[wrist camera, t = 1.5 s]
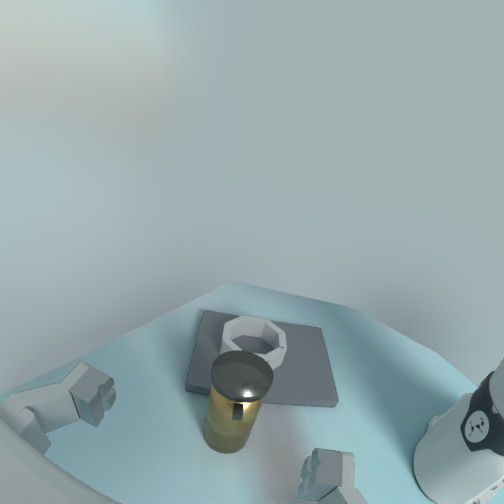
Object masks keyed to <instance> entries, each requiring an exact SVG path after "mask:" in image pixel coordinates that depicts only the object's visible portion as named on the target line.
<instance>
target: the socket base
mask: <svg viewBox="0 0 504 504" xmlns="http://www.w3.org/2000/svg"><path fill="white" fill-rule="evenodd" d="M233 350H242V351H248V352H251V353H254V354H256V355H258V356H260V357H262V358H263V359H264V360H265V361H267V362H268V364H269V365H270V366H271V368H272V370H273V375H274V378H273V382H272V385H271V388H270V390H269V392H268V393H267V395H266V396H265V397H264V399H263V402H262V403H272V404H283V405H297V406H315V407H335V406H336V404H337V403H338V401H339V399H338V395H337V391H336V387H335V382H334V378H333V374H332V370H331V366H330V362H329V358H328V354H327V350H326V346H325V342H324V338H323V334H322V331H321V328H318V327H310V326H302V325H295V324H288V323H281V322H274V321H269V320H267V319H264V318H258V317H251V316H245V315H244V316H236V315H231V314H225V313H219V312H214V311H208V310H204V312H203V316H202V320H201V324H200V328H199V332H198V335H197V339H196V343H195V347H194V351H193V355H192V360H191V364H190V368H189V372H188V376H187V380H186V387H185V391H190V392H195V393H201V394H206V395H210V389H211V378H210V375H211V368H212V364H213V362H214V360H215V359H216V358H217V357H218V356H219V355H221V354H223V353H225V352H228V351H233Z"/></svg>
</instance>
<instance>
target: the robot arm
mask: <svg viewBox="0 0 504 504" xmlns="http://www.w3.org/2000/svg"><path fill="white" fill-rule="evenodd" d="M113 385H114V379H113V378H111V377H109V376H107V375H105V374H104V373H102V372H100V371H98V370H96V369H94V368H93V367H91V366H89V365H88V364H86V363H84V362H81V363H79V364H78V365H77V366H76V367H75V368H74V369H73V370H72V371H71V372H70V373H69V374H68V375H67V376H66V377H65V378H64V379H63V380H62V381H61V382H60V383H59V385H58V384H56V383H54V384H51V385H47V386H43V387H39V388H35V389H31V390H26V391H22V392H18V393H13V394H11V395H10V396H9V397H8V398H7V399H6V400H5V401H4V402H3V403H2V404H1V405H0V504H120V503H119V502H117V501H115V500H113V499H111V498H109V497H107V496H105V495H104V494H102V493H100V492H98V491H96V490H95V489H93V488H91V487H90V486H88V485H86V484H85V483H83V482H81V481H80V480H78V479H77V478H75V477H74V476H72V475H71V474H69V473H68V472H66V471H65V470H63V469H62V468H60V467H59V466H57V465H56V464H55V463H53V462H52V461H51V460H49V459H48V458H47V457H45V456H44V454H45V452H46V451H47V450H48V448H49V447H50V446H51V443H50V440H49V439H48V437H47V436H46V434H45V433H47V432H49V431H52V430H54V429H57V428H59V427H62V426H64V425H67V424H69V423H72V422H74V421H76V420H79V419H80V418H81V419H82V420H84V421H86V422H87V423H89V424H91V425H93V426H95V427H97V426H98V424H99V423H100V422H101V420H102V419H103V418H104V411H107V410H109V409H110V408H111V407H112V405H113V403H114V401H115V397H116V391H115V389H114V388H113V387H112V386H113ZM413 465H414V472H415V476H416V479H417V481H418V484H419V486H420V487H421V489H422V490H423V492H424V493H425V494H426V495H427V496H428V497H429V498H430V499H431V500H433V501H434V502H436V503H438V504H485V503H486V502H487V501H488V500H489V499H491V498H492V497H493V496H494V495H495V494H496V493H497V492H498V491H499V490H500V489H501V488H502V487H503V486H504V359H503V360H502V362H501V363H500V364H499V366H498V367H497V369H496V370H495V371H492V372H491V373H490V374H489V375H488V376H487V377H486V378H485V379H484V380H483V381H482V382H481V383H480V385H479V386H478V388H477V389H476V391H475V392H474V393H470V394H468V393H466V394H465V395H463V396H462V397H461V398H460V399H459V400H458V401H457V402H456V403H455V404H454V405H453V406H452V407H451V408H450V409H449V410H448V411H447V412H446V413H445V414H444V415H435V416H434V417H432V418H431V419H430V421H429V423H428V428H427V432H426V433H425V435H424V436H423V437H422V438H421V439H420V441H419V442H418V444H417V446H416V449H415V452H414V459H413ZM300 476H301V478H302V480H303V482H302V483H301V484H300V485H299V489H298V495H297V499H302V500H308V501H315V502H317V504H368V503H367V502H366V500H365V499H364V498H363V496H362V495H361V493H360V492H359V490H358V489H357V488H354V455H353V453H348V452H341V451H335V450H328V449H321V448H315V449H314V450H313V451H312V455H311V456H308V457H307V458H306V460H305V461H304V464H303V466H302V469H301V475H300Z"/></svg>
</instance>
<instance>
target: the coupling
mask: <svg viewBox="0 0 504 504" xmlns="http://www.w3.org/2000/svg"><path fill="white" fill-rule="evenodd" d="M210 378H211V389H210V395H209V401H208V408H207V414H206V421H205V427H204V439H205V442H206V443H207V444H208V446H209V447H210V448H212V449H213V450H215V451H217V452H220V453H234V452H237V451H239V450H240V449H242V448H243V447H244V445H245V444H246V441H247V439H248V437H249V434H250V432H251V429H252V427H253V425H254V422H255V420H256V417H257V415H258V412H259V410H260V407H261V405H262V402H263V399H264V397H265V396H266V395H267V393H268V392H269V390H270V388H271V385H272V382H273V378H274V375H273V370H272V368H271V366H270V365H269V364H268V362H267V361H265V360H264V359H263V358H262V357H260V356H258V355H256V354H254V353H251V352H248V351H242V350H233V351H228V352H225V353H223V354H221V355H219V356H218V357H217V358H216V359H215V360H214V362H213V364H212V368H211V375H210Z"/></svg>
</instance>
